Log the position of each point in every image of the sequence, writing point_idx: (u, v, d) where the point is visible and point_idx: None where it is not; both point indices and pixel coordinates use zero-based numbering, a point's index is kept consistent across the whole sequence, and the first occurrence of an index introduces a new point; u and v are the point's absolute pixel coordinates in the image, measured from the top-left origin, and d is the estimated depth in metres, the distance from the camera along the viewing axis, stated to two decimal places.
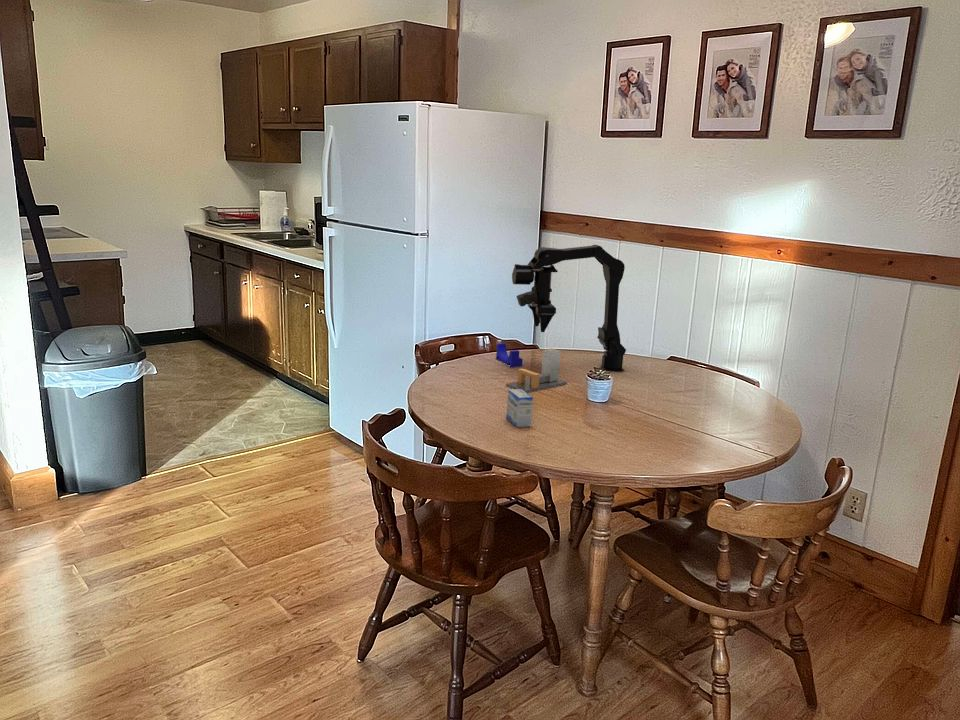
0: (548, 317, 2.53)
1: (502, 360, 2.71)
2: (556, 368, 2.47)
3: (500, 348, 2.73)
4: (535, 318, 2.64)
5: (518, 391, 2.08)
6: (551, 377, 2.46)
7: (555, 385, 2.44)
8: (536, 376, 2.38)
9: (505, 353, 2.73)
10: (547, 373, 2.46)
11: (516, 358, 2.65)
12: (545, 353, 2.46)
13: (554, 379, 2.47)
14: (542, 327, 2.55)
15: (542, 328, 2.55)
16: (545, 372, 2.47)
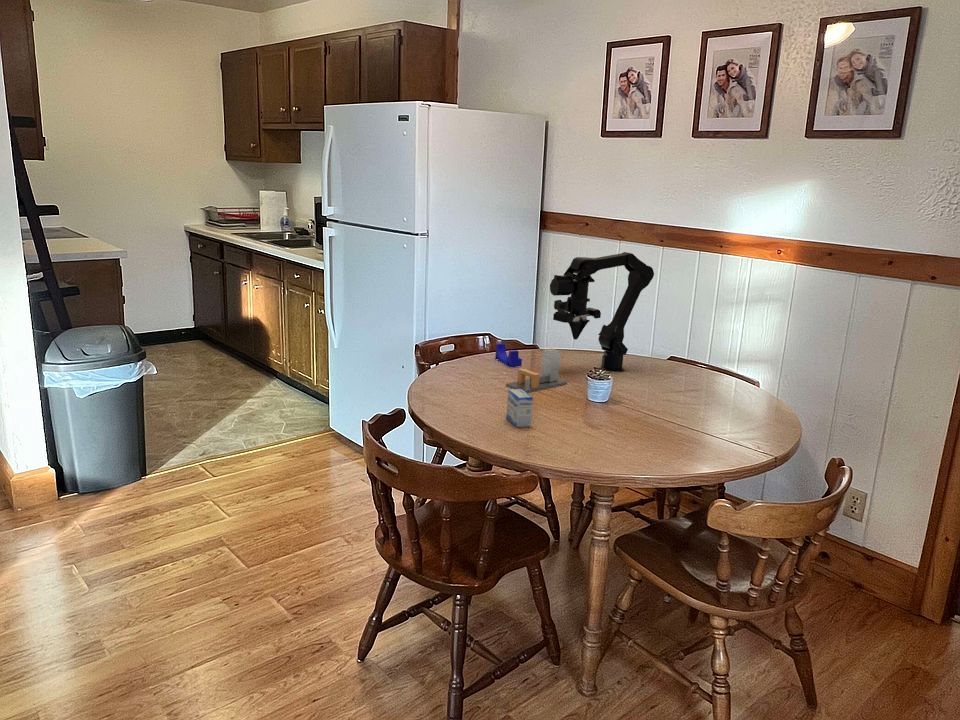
0: (576, 325, 2.56)
1: (501, 360, 2.70)
2: (556, 368, 2.47)
3: (499, 348, 2.73)
4: None
5: (518, 391, 2.08)
6: (551, 377, 2.46)
7: (555, 385, 2.44)
8: (536, 376, 2.38)
9: (504, 353, 2.73)
10: (547, 373, 2.46)
11: (515, 358, 2.65)
12: (545, 353, 2.46)
13: (554, 379, 2.47)
14: (573, 334, 2.58)
15: (573, 335, 2.59)
16: (545, 372, 2.47)
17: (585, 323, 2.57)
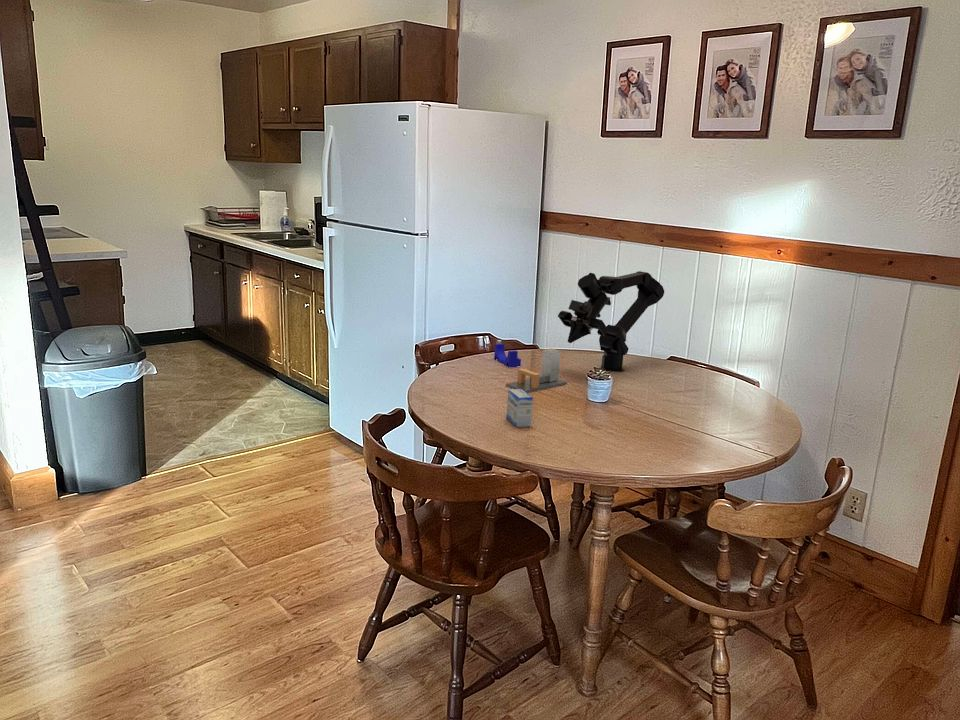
0: (583, 333, 2.52)
1: (500, 360, 2.70)
2: (556, 368, 2.47)
3: (498, 348, 2.72)
4: None
5: (518, 391, 2.08)
6: (551, 377, 2.46)
7: (555, 385, 2.44)
8: (536, 376, 2.38)
9: (503, 353, 2.73)
10: (547, 373, 2.46)
11: (514, 358, 2.64)
12: (545, 353, 2.46)
13: (554, 379, 2.47)
14: (573, 337, 2.50)
15: (572, 338, 2.50)
16: (545, 372, 2.47)
17: None
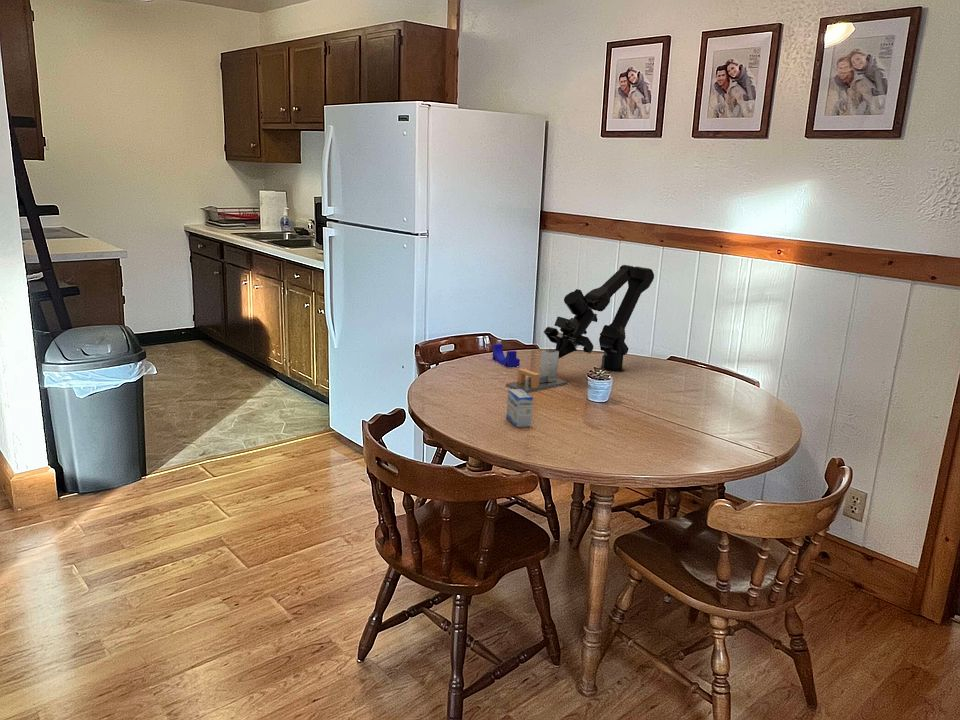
0: (569, 349, 2.49)
1: (499, 361, 2.70)
2: (555, 368, 2.46)
3: (496, 349, 2.72)
4: None
5: (518, 391, 2.08)
6: (549, 377, 2.46)
7: (555, 385, 2.44)
8: (536, 376, 2.38)
9: (502, 354, 2.72)
10: (545, 373, 2.46)
11: (513, 358, 2.64)
12: (543, 353, 2.45)
13: (552, 379, 2.47)
14: (559, 354, 2.48)
15: None
16: (543, 372, 2.46)
17: None
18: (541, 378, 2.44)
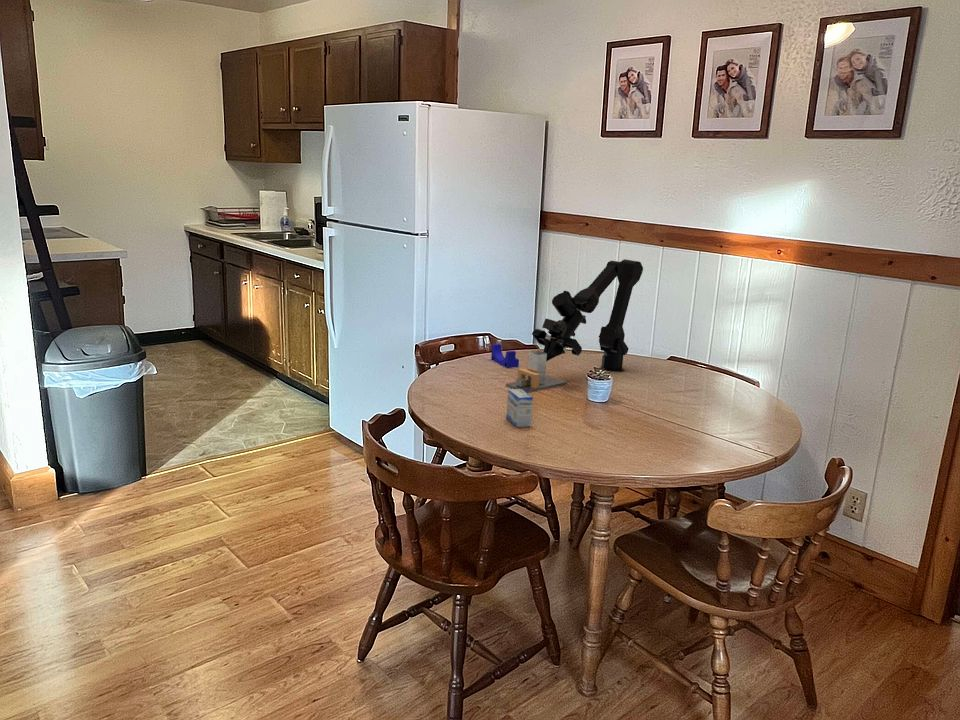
0: (557, 352, 2.45)
1: (498, 361, 2.69)
2: (543, 370, 2.43)
3: (495, 349, 2.72)
4: None
5: (518, 391, 2.08)
6: None
7: (555, 385, 2.44)
8: (536, 376, 2.38)
9: (500, 354, 2.72)
10: None
11: (512, 359, 2.64)
12: (531, 355, 2.42)
13: (540, 382, 2.43)
14: (547, 357, 2.44)
15: None
16: None
17: None
18: (529, 381, 2.41)
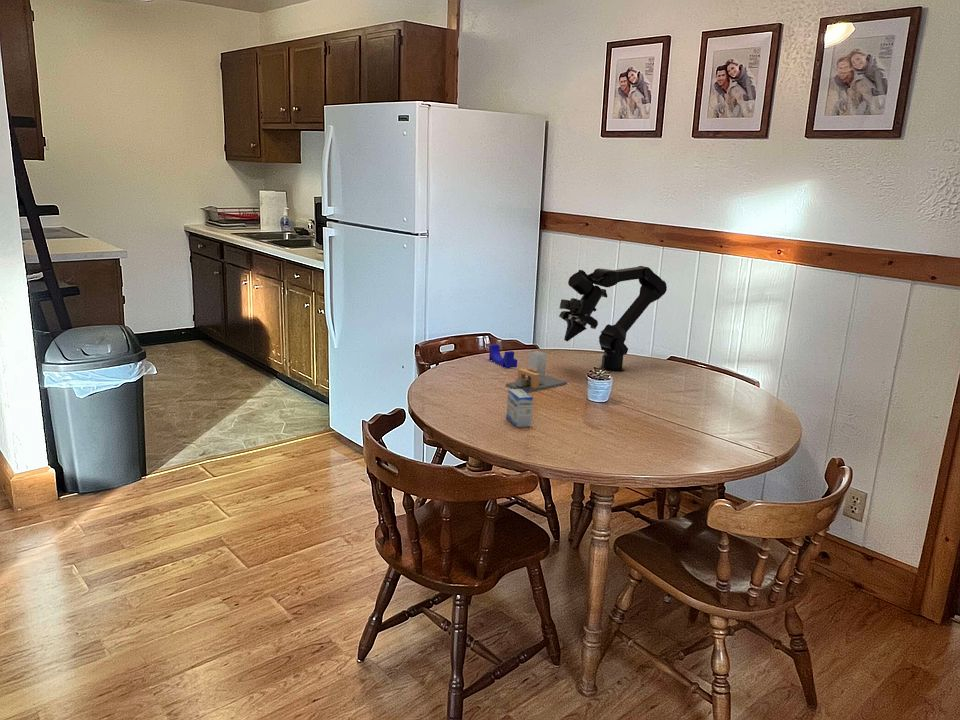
0: (579, 329, 2.54)
1: (496, 361, 2.69)
2: (543, 371, 2.43)
3: (493, 349, 2.71)
4: None
5: (518, 391, 2.08)
6: None
7: (555, 385, 2.44)
8: (536, 376, 2.38)
9: (498, 354, 2.71)
10: None
11: (511, 359, 2.63)
12: (530, 355, 2.42)
13: (540, 382, 2.43)
14: (569, 335, 2.54)
15: (568, 336, 2.54)
16: None
17: None
18: (528, 381, 2.40)
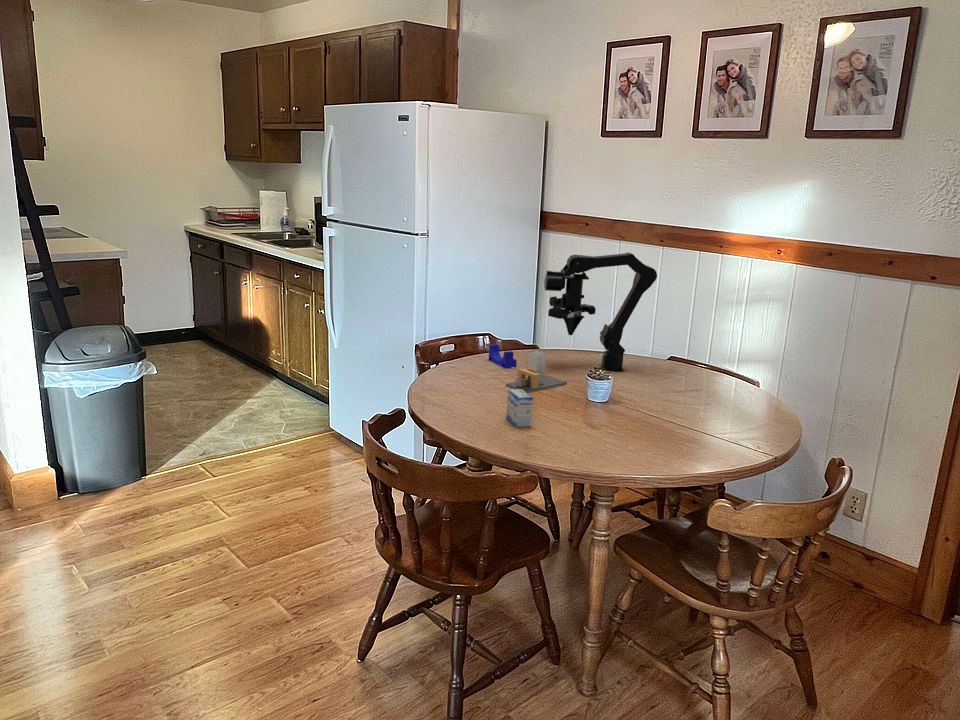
0: (570, 321, 2.61)
1: (495, 361, 2.69)
2: (543, 371, 2.43)
3: (493, 349, 2.71)
4: None
5: (518, 391, 2.08)
6: None
7: (555, 385, 2.44)
8: (536, 376, 2.38)
9: (498, 354, 2.71)
10: None
11: (510, 359, 2.63)
12: (530, 355, 2.42)
13: (540, 382, 2.43)
14: (568, 329, 2.64)
15: (568, 331, 2.64)
16: None
17: (580, 319, 2.62)
18: (528, 381, 2.40)
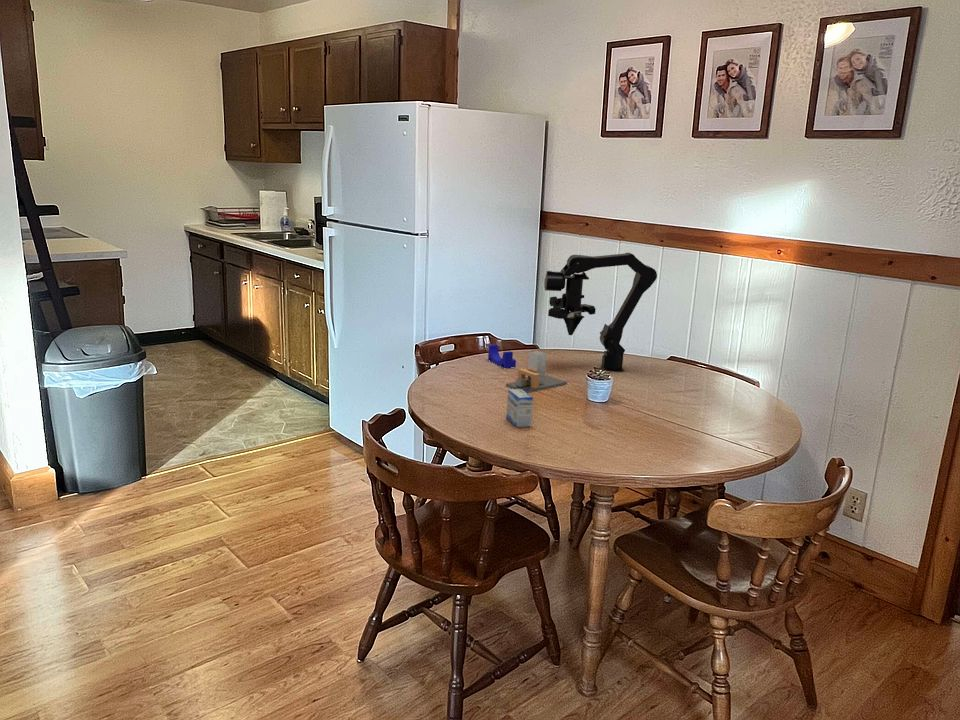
0: (570, 321, 2.61)
1: (495, 361, 2.68)
2: (543, 371, 2.43)
3: (492, 349, 2.71)
4: None
5: (518, 391, 2.08)
6: None
7: (555, 385, 2.44)
8: (536, 376, 2.38)
9: (497, 354, 2.71)
10: None
11: (509, 359, 2.63)
12: (530, 355, 2.42)
13: (540, 382, 2.43)
14: (568, 329, 2.64)
15: (568, 331, 2.64)
16: None
17: (580, 319, 2.62)
18: (528, 381, 2.40)
